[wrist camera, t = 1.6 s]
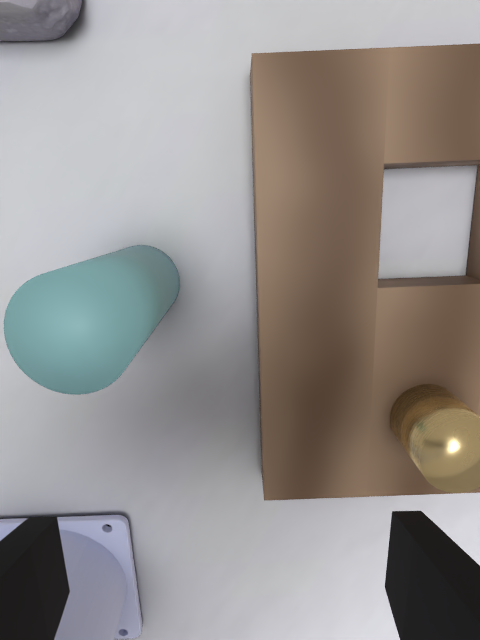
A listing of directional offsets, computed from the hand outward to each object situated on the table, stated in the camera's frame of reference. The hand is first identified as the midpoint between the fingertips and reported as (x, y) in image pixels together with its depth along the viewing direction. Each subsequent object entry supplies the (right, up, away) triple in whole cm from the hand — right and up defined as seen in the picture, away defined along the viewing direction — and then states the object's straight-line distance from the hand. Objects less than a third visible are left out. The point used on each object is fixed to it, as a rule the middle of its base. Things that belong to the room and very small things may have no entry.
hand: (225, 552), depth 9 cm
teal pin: (-4, +7, +9) cm, 12 cm away
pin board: (+8, +6, +9) cm, 14 cm away
